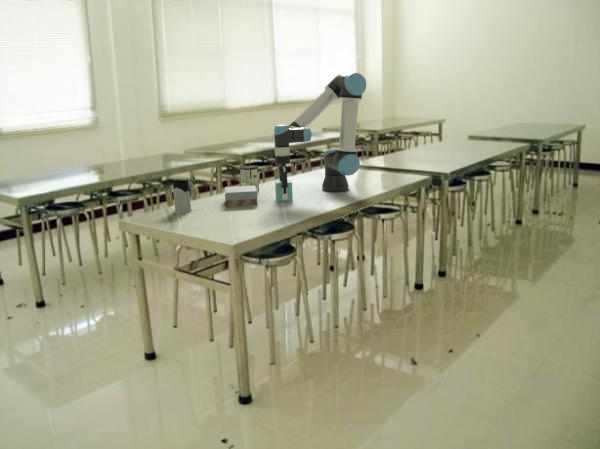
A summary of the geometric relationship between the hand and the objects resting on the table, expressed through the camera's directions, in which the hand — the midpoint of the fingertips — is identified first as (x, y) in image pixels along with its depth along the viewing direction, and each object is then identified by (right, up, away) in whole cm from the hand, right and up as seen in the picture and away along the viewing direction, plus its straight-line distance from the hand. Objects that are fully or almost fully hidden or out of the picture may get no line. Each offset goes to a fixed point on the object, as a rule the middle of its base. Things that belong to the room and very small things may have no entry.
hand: (284, 197), depth 312 cm
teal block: (0, -1, 0) cm, 1 cm away
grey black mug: (-49, -7, -15) cm, 52 cm away
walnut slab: (-22, -3, -3) cm, 23 cm away
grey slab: (-22, 0, -4) cm, 23 cm away
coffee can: (-20, +5, +29) cm, 36 cm away
